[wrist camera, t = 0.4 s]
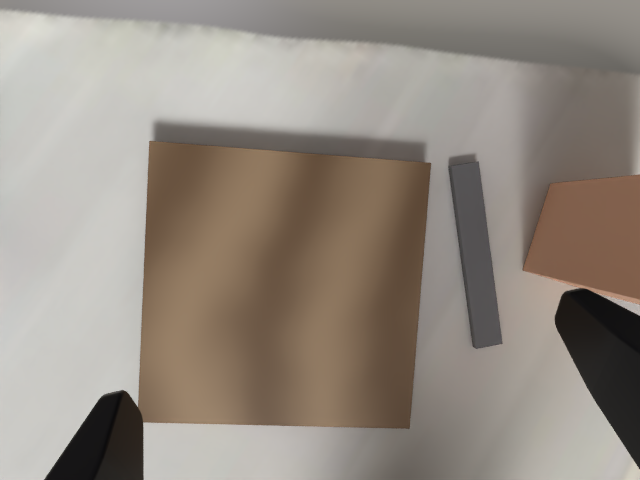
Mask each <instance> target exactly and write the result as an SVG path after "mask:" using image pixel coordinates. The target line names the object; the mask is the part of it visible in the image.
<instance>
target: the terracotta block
mask: <svg viewBox="0 0 640 480" xmlns="http://www.w3.org/2000/svg"><path fill="white" fill-rule="evenodd" d="M523 271H527V272H530V273H533V274H536V275H540V276H543V277H546V278H550V279H553V280H556V281H559V282H563V283H566V284H569V285H573V286H576V287H579V288H585V289H588V290H590V291H592V292H596V293H599V294H602V295H606V296H610V297H613V298H617V299H621V300H625V301H629V302H632V303H636V304H640V175H631V176H621V177H611V178H601V179H590V180H580V181H570V182H560V183H550V187H549V190H548V193H547V196H546V199H545V202H544V205H543V208H542V211H541V215H540V218H539V221H538V224H537V227H536V230H535V233H534V236H533V239H532V243H531V246H530V249H529V252H528V255H527V258H526V261H525V264H524V268H523Z"/></svg>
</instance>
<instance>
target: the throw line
mask: <svg viewBox="0 0 640 480" xmlns="http://www.w3.org/2000/svg"><path fill="white" fill-rule="evenodd" d="M449 174H450V181H451V188H452V196H453V203H454V210H455V218H456V225H457V232H458V240H459V247H460V254H461V262H462V269H463V276H464V284H465V291H466V298H467V306H468V313H469V320H470V328H471V335H472V342H473V347H474V348H476V349H478V348H483V347H488V346H493V345H499V344H502V336H501V329H500V321H499V314H498V306H497V298H496V291H495V283H494V275H493V268H492V260H491V253H490V245H489V237H488V230H487V222H486V214H485V207H484V199H483V191H482V184H481V176H480V169H479V161H478V162H472V163H466V164H459V165H453V166H449Z"/></svg>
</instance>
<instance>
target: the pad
mask: <svg viewBox="0 0 640 480" xmlns="http://www.w3.org/2000/svg"><path fill="white" fill-rule="evenodd" d="M430 169H431V163H425V162H412V161H400V160H387V159H374V158H361V157H348V156H336V155H323V154H310V153H297V152H284V151H272V150H259V149H246V148H233V147H220V146H207V145H195V144H182V143H169V142H156V141H149V164H148V187H147V211H146V234H145V258H144V282H143V305H142V329H141V352H140V376H139V400H138V408H139V410H140V412H141V414H142V417H143V422H151V423H194V424H236V425H279V426H321V427H364V428H406V429H410V416H411V404H412V392H413V379H414V367H415V355H416V342H417V330H418V317H419V305H420V293H421V280H422V268H423V256H424V243H425V231H426V219H427V206H428V194H429V182H430Z"/></svg>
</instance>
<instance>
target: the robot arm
mask: <svg viewBox="0 0 640 480" xmlns="http://www.w3.org/2000/svg"><path fill="white" fill-rule="evenodd" d="M555 325H556V328H557V330H558V332H559V334H560V336H561V338H562V340H563V342H564V343H565V345H566V347H567V349H568V351H569V353H570V355H571V357H572V359H573V361H574V363H575V365H576V367H577V369H578V371H579V373H580V375H581V377H582V378H583V380H584V382H585V384H586V386H587V388H588V390H589V391H590V393H591V395H592V396H593V398H594V400H595V401H596V403H597V405H598V406H599V408H600V409H601V411H602V412H603V414H604V415H605V417H606V418H607V420H608V421H609V423H610V424H611V426H612V428H613V429H614V431H615V432H616V434H617V435H618V437H619V438H620V440H621V441H622V443H623V444H624V446H625V447H626V449H627V451H628V452H629V454H630V455H631V457H632V458H633V460H634V461H635V463H636V464H637V466H638V467H639V469H640V316H639V315H637V314H635V313H633V312H631V311H629V310H627V309H625V308H623V307H622V306H620V305H618V304H616V303H614V302H612V301H610V300H608V299H606V298H604V297H602V296H600V295H598V294H596V293H594V292H592V291H590V290H588V289H585V288H579V289H574V290H570V291H566V292H564V293H563V294H562V296H561V300H560V303H559V306H558V309H557V312H556V315H555ZM44 480H143V417H142V414H141V412H140V410H139V408H138V407H137V405H136V404H135V403H134V401H133V400H132V398H131V397H130V395H129V394H128V393H127V392H126V391H124V390H121V391H116V392H112V393H107V394H105V395H103V396H102V397H101V398H100V399H99V400H98V402H97V403H96V405H95V406H94V408H93V409H92V411H91V412H90V413H89V415H88V416H87V418H86V419H85V421H84V422H83V424H82V425H81V427H80V428H79V430H78V431H77V432H76V434H75V435H74V437H73V438H72V440H71V441H70V443H69V444H68V446H67V447H66V449H65V450H64V451H63V453H62V454H61V456H60V457H59V459H58V460H57V462H56V463H55V465H54V466H53V468H52V469H51V470H50V472H49V473H48V475H47V476H46V478H45V479H44Z"/></svg>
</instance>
